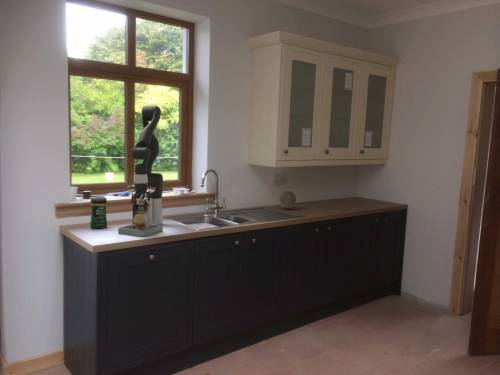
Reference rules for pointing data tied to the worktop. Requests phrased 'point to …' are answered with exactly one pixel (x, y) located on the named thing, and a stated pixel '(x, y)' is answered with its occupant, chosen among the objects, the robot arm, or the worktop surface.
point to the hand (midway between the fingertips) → (140, 209)
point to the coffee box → (141, 217)
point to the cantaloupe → (287, 199)
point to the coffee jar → (98, 212)
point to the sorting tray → (140, 233)
